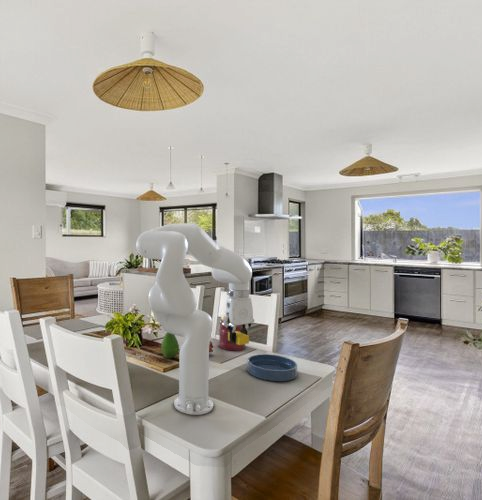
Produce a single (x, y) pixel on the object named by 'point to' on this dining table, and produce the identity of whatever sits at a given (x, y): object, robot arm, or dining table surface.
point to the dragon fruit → (210, 347)
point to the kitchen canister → (224, 340)
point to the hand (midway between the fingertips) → (238, 340)
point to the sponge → (240, 338)
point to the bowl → (272, 367)
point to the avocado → (170, 346)
